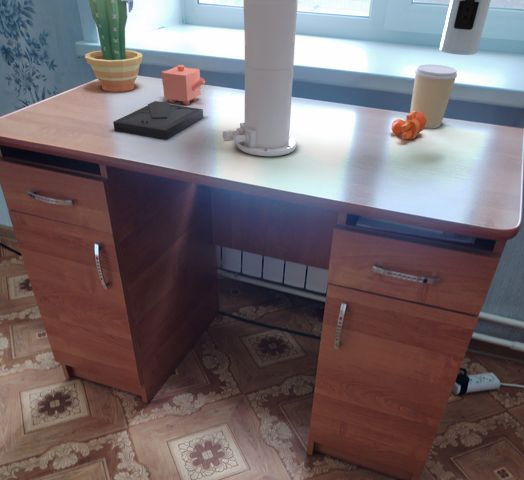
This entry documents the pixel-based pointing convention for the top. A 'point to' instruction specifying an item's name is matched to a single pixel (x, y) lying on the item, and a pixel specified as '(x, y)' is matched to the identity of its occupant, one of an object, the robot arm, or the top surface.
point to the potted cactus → (113, 46)
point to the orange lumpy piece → (410, 125)
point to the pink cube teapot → (182, 84)
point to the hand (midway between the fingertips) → (463, 24)
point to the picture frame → (158, 120)
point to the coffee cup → (432, 92)
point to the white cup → (463, 31)
